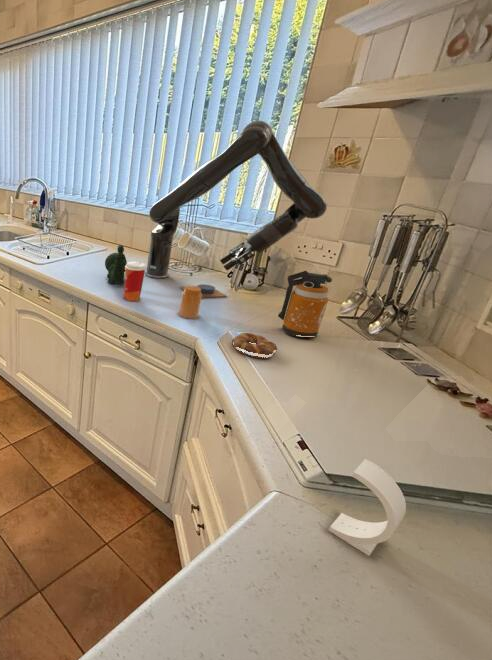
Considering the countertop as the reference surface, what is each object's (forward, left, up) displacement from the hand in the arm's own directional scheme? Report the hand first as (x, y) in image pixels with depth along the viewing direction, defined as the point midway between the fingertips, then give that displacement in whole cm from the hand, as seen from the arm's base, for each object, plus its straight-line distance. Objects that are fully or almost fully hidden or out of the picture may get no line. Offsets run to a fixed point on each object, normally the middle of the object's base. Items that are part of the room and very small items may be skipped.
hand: (223, 265), depth 152 cm
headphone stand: (+107, -24, -12) cm, 110 cm away
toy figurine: (-15, -37, -12) cm, 42 cm away
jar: (+22, -19, -12) cm, 31 cm away
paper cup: (+7, -35, -12) cm, 38 cm away
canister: (+35, +9, -12) cm, 38 cm away
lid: (-1, -4, -10) cm, 11 cm away
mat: (-1, -5, -12) cm, 13 cm away
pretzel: (+47, -10, -12) cm, 49 cm away
